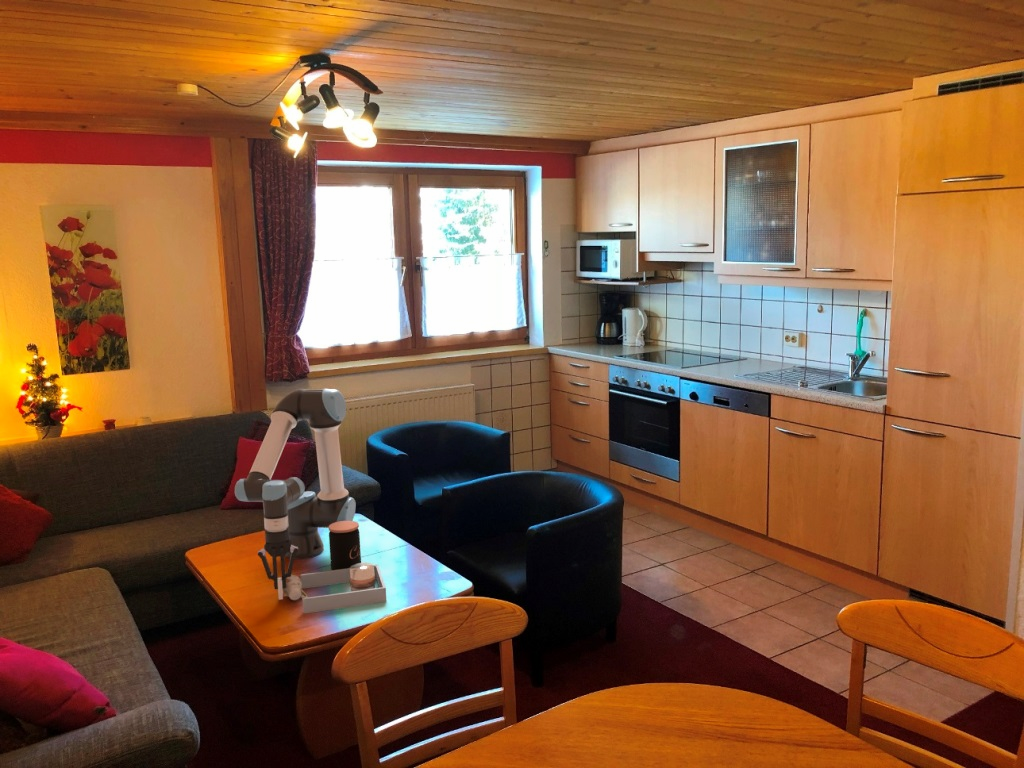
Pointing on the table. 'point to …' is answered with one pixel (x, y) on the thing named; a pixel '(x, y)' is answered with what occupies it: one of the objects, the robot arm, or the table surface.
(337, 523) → the coffee jar
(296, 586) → the mug
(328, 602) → the grey u-shaped low frame
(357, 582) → the round glass jar
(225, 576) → the table surface
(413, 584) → the table surface
